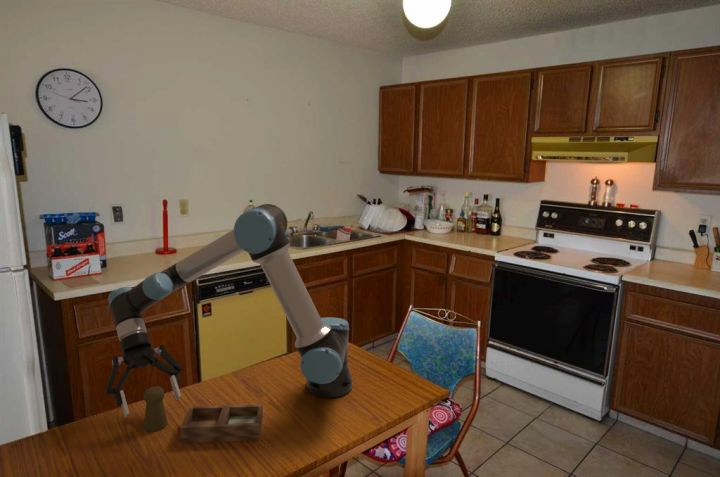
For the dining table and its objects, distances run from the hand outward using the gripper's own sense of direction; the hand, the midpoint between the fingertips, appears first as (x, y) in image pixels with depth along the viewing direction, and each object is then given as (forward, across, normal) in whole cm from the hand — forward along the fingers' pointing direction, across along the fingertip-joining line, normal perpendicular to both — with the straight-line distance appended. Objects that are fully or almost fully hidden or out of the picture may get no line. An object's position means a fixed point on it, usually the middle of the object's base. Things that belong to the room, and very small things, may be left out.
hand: (153, 406), depth 124 cm
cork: (+4, 0, -5) cm, 6 cm away
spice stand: (+14, -14, +5) cm, 20 cm away
